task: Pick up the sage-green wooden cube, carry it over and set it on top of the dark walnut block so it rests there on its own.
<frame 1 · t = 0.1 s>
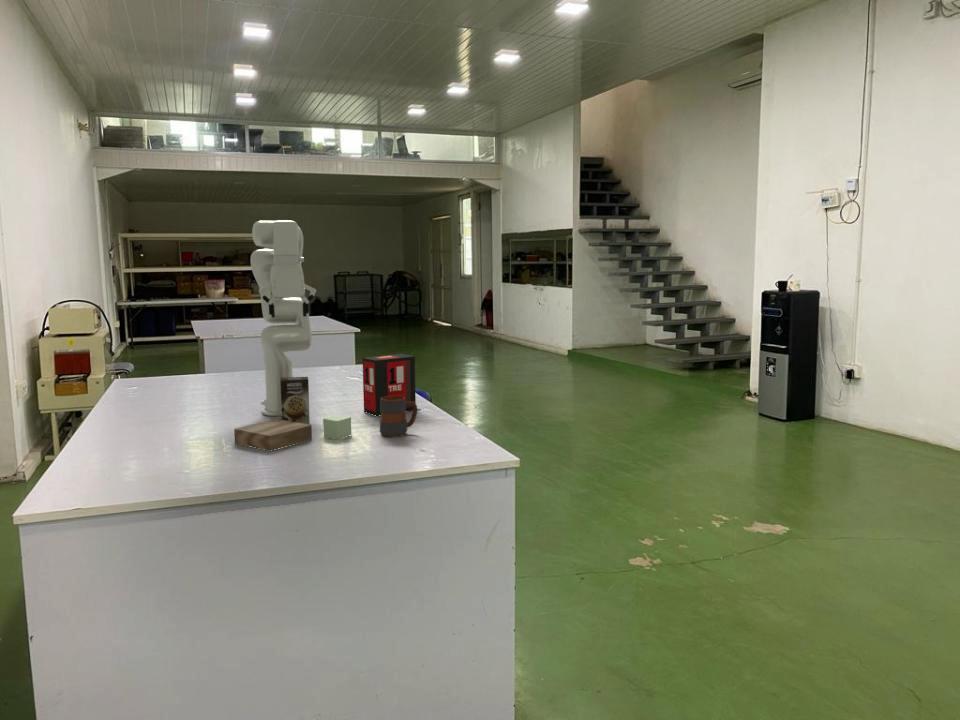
hand: (289, 316, 219), 37 cm above the table, tool pointing down, fingers open, 9 cm apart
mug: (399, 434, 223), on the table
walnut block: (273, 442, 214), on the table
coffee box: (296, 426, 234), on the table
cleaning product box: (390, 411, 256), on the table
sage cube: (337, 436, 220), on the table
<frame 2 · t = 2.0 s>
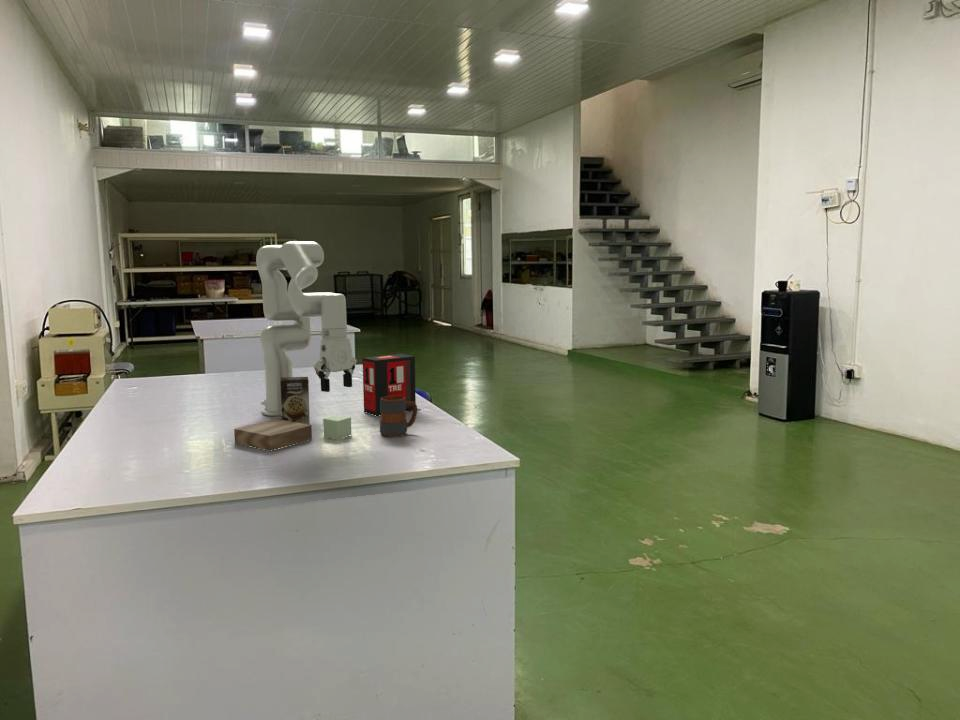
hand: (336, 389, 217), 15 cm above the table, tool pointing down, fingers open, 9 cm apart
nothing on the table moved.
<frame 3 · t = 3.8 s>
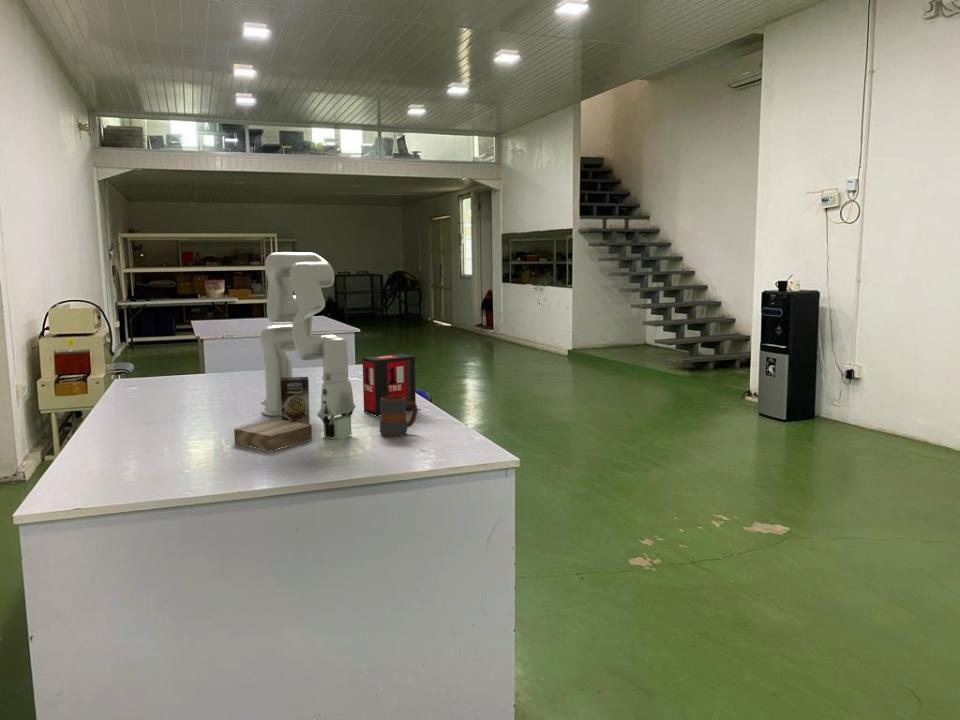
hand: (337, 433, 220), 1 cm above the table, tool pointing down, fingers closed on sage cube, 6 cm apart
sage cube: (337, 436, 220), on the table, touching gripper
everything else where it was.
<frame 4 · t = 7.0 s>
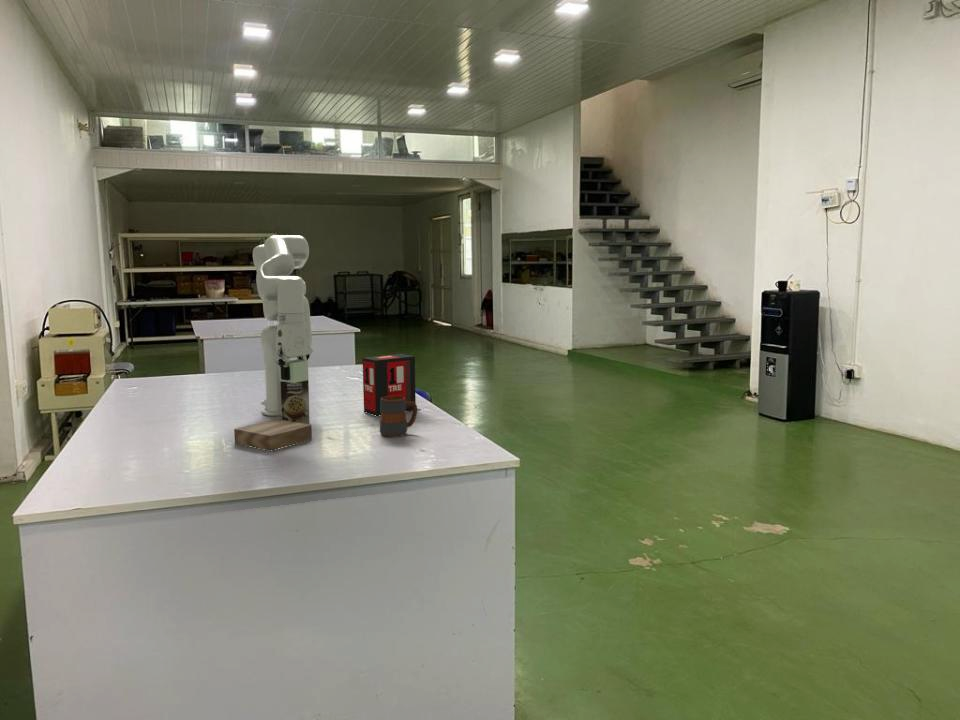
hand: (293, 377, 213), 19 cm above the table, tool pointing down, fingers closed on sage cube, 6 cm apart
sage cube: (294, 380, 214), point 18 cm above the table, touching gripper
everything else where it was.
when the fingers open (7 cm above the table, at t = 10.3 s): sage cube drops 2 cm, resting on walnut block.
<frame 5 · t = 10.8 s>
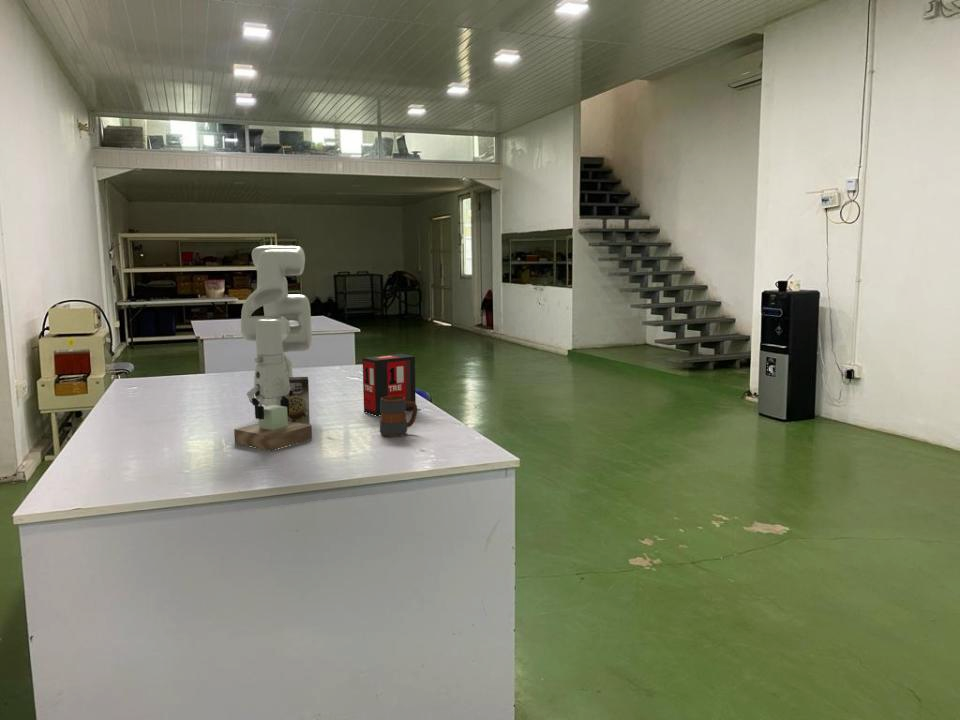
hand: (272, 415, 213), 8 cm above the table, tool pointing down, fingers open, 9 cm apart
walnut block: (273, 443, 214), on the table, touching sage cube
sage cube: (273, 426, 214), point 4 cm above the table, touching walnut block
everything else where it was.
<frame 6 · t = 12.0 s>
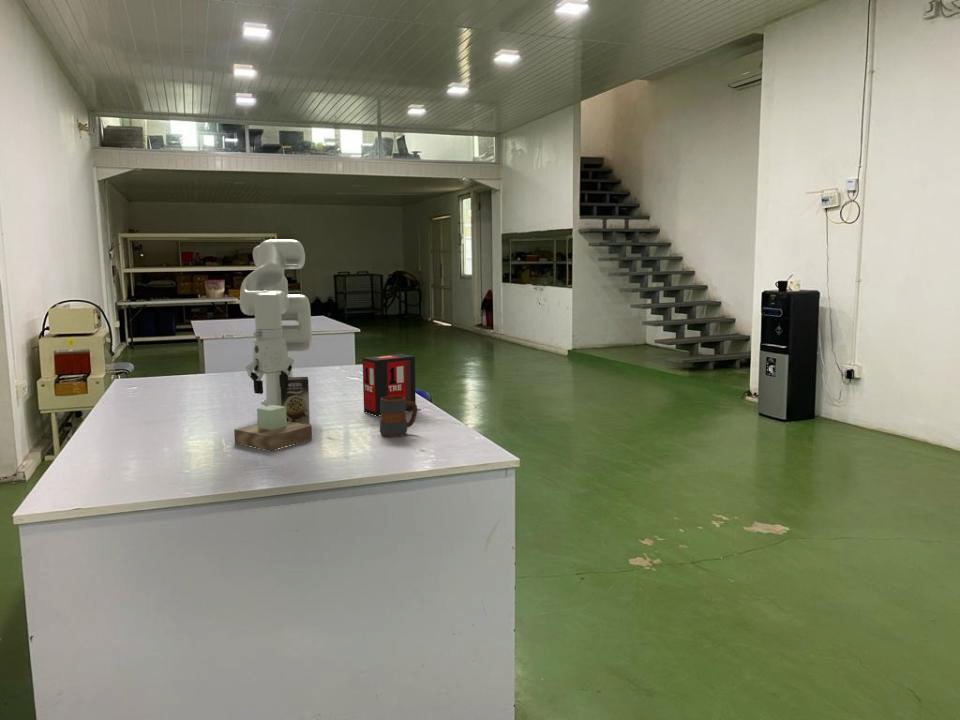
hand: (271, 390, 212), 16 cm above the table, tool pointing down, fingers open, 9 cm apart
walnut block: (273, 443, 214), on the table
sage cube: (272, 427, 214), point 4 cm above the table
everything else where it was.
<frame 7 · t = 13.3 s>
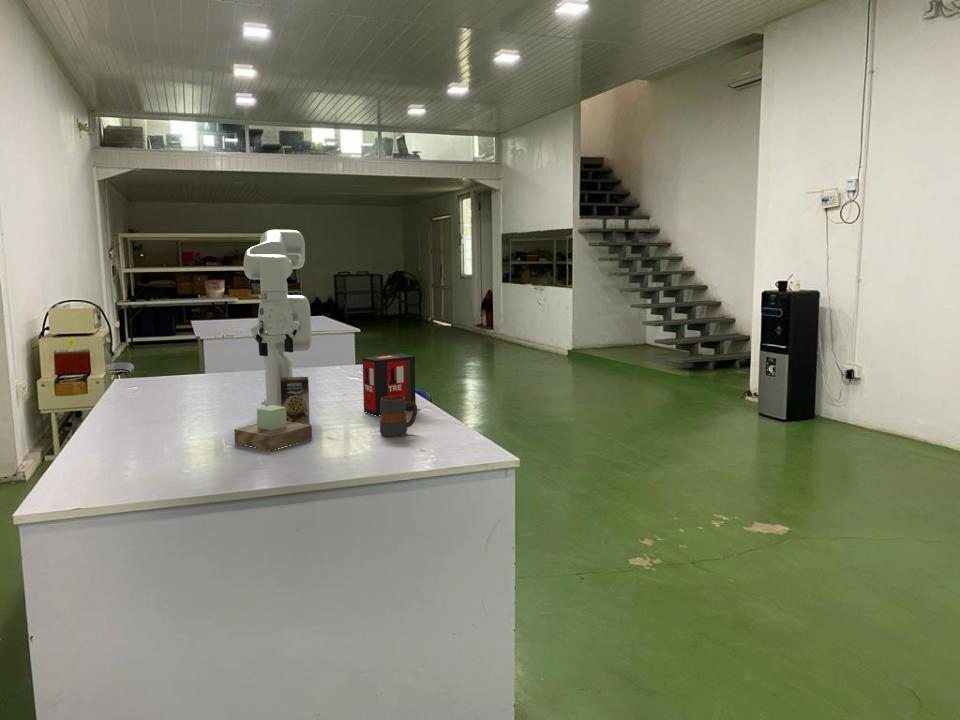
hand: (276, 353, 213), 27 cm above the table, tool pointing down, fingers open, 9 cm apart
nothing on the table moved.
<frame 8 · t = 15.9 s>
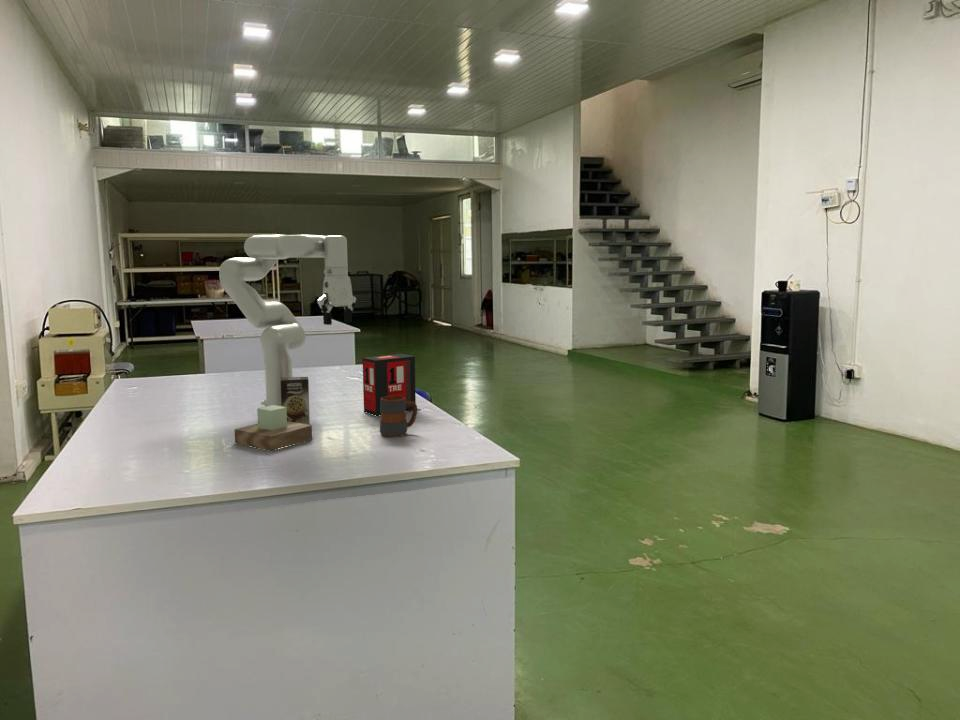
hand: (338, 323, 239), 33 cm above the table, tool pointing down, fingers open, 9 cm apart
nothing on the table moved.
at the end: sage cube inside the target area on the walnut block (0.4 cm from its centre), point 5.0 cm above the walnut block's base; sage cube tilted 0°; the gripper is holding nothing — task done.
